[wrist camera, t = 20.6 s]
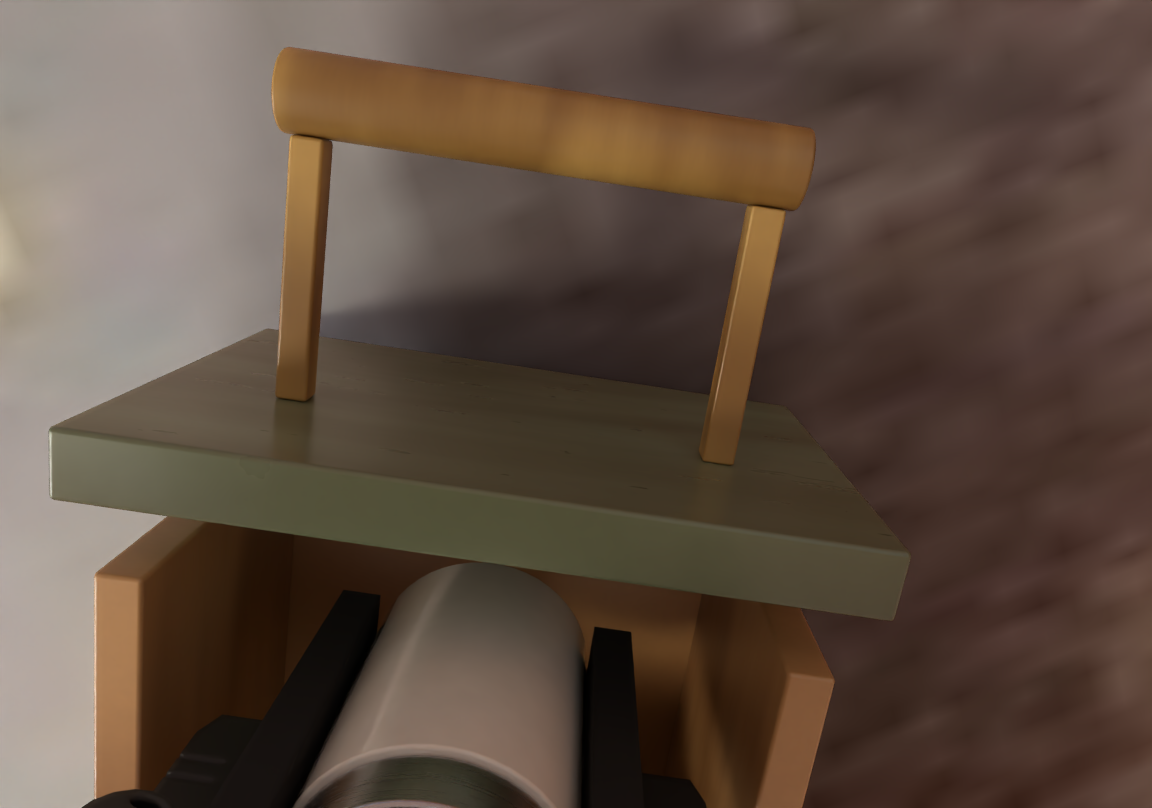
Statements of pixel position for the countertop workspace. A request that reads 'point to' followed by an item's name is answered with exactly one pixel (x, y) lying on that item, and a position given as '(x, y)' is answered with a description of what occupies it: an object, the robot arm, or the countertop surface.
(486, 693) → the salt shaker
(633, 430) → the drawer
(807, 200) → the countertop surface
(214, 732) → the robot arm
